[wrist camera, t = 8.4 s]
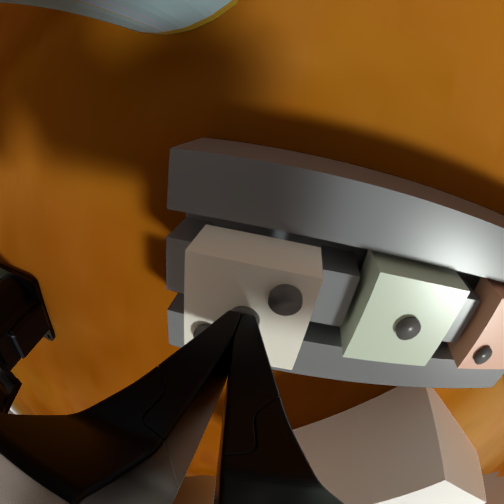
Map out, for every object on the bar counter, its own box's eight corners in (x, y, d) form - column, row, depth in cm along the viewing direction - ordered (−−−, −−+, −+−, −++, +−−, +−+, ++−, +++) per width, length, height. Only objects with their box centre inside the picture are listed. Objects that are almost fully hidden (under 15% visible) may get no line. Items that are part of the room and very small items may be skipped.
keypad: (192, 302, 16) (169, 344, 13) (203, 137, 12) (170, 148, 9) (475, 349, 15) (492, 387, 12) (537, 231, 11) (571, 259, 8)
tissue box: (421, 370, 17) (449, 514, 7) (476, 449, 22) (488, 517, 13) (267, 434, 23) (246, 542, 13) (383, 487, 28) (382, 550, 19)
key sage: (339, 324, 13) (342, 360, 11) (369, 245, 11) (381, 275, 9) (414, 336, 12) (426, 369, 10) (451, 265, 10) (472, 294, 8)
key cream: (200, 313, 12) (182, 349, 10) (205, 224, 10) (182, 253, 8) (294, 333, 12) (291, 374, 10) (320, 247, 10) (323, 282, 8)
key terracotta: (445, 340, 12) (458, 371, 10) (482, 273, 10) (504, 301, 8) (493, 344, 12) (507, 371, 10) (528, 286, 10) (548, 310, 8)
